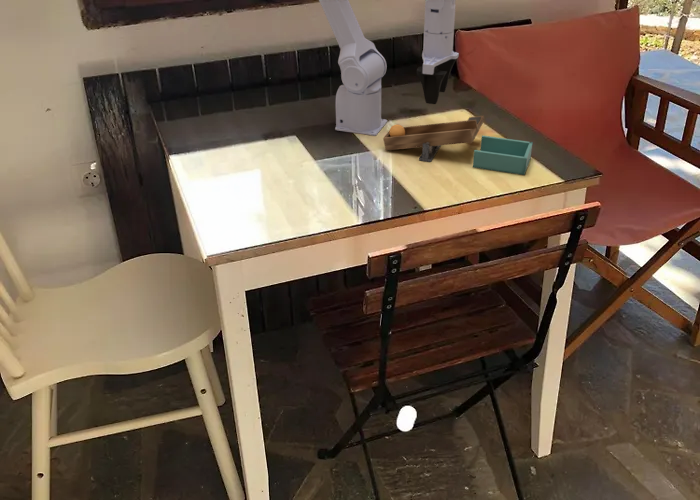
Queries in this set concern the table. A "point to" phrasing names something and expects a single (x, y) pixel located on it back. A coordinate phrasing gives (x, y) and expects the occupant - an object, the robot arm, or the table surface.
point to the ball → (397, 130)
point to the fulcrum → (428, 152)
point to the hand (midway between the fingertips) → (435, 97)
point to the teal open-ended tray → (503, 155)
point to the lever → (436, 134)
